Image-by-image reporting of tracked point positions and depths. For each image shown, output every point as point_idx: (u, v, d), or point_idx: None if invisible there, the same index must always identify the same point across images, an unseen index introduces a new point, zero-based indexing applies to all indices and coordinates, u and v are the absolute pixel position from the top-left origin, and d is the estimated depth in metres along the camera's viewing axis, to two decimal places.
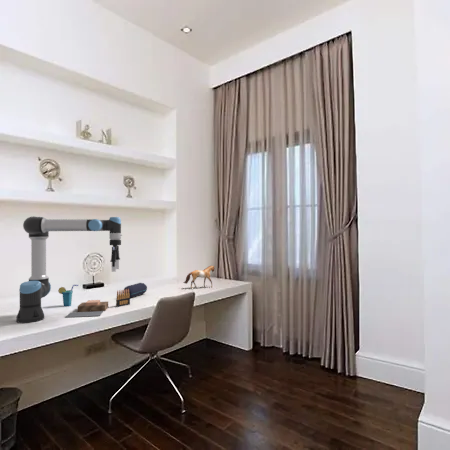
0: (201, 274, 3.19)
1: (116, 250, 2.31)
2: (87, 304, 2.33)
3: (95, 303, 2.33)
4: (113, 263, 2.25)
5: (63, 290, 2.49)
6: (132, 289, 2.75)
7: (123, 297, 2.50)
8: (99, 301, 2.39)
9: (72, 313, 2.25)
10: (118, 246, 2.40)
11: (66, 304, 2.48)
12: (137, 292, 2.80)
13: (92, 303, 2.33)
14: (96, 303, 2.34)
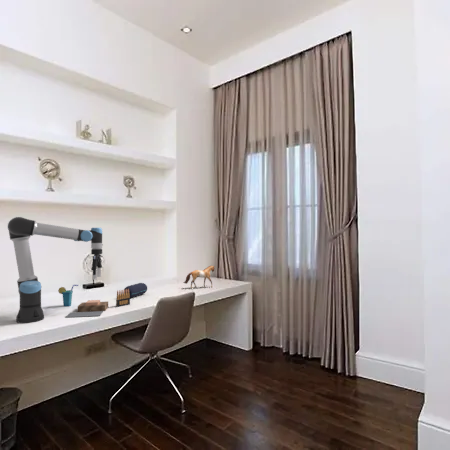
0: (201, 274, 3.19)
1: (97, 259, 2.44)
2: (87, 304, 2.33)
3: (95, 303, 2.33)
4: (94, 271, 2.38)
5: (63, 290, 2.49)
6: (132, 289, 2.75)
7: (123, 297, 2.50)
8: (99, 301, 2.39)
9: (72, 313, 2.25)
10: (100, 255, 2.53)
11: (66, 304, 2.48)
12: (137, 292, 2.80)
13: (92, 303, 2.33)
14: (96, 303, 2.34)
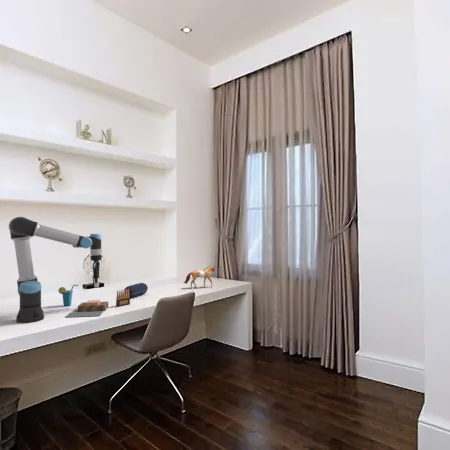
0: (201, 274, 3.19)
1: (97, 265, 2.46)
2: (87, 304, 2.33)
3: (95, 303, 2.33)
4: (95, 280, 2.45)
5: (63, 290, 2.49)
6: (133, 289, 2.75)
7: (123, 297, 2.50)
8: (99, 301, 2.39)
9: (72, 313, 2.25)
10: (99, 263, 2.53)
11: (66, 304, 2.48)
12: (138, 292, 2.80)
13: (92, 303, 2.33)
14: (96, 303, 2.34)
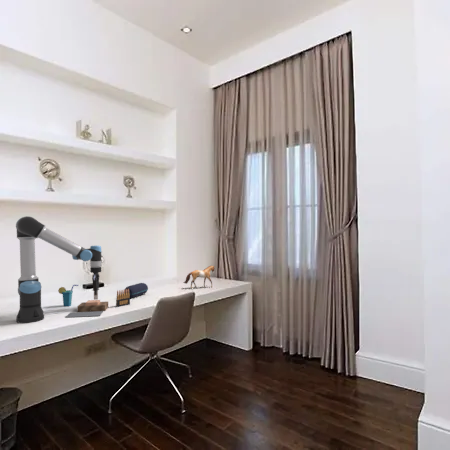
0: (201, 274, 3.19)
1: None
2: (87, 304, 2.33)
3: (95, 303, 2.33)
4: (95, 292, 2.45)
5: (63, 290, 2.49)
6: (133, 289, 2.75)
7: (123, 297, 2.50)
8: (99, 301, 2.39)
9: (72, 313, 2.25)
10: None
11: (66, 304, 2.48)
12: (138, 292, 2.80)
13: (92, 303, 2.33)
14: (96, 303, 2.34)
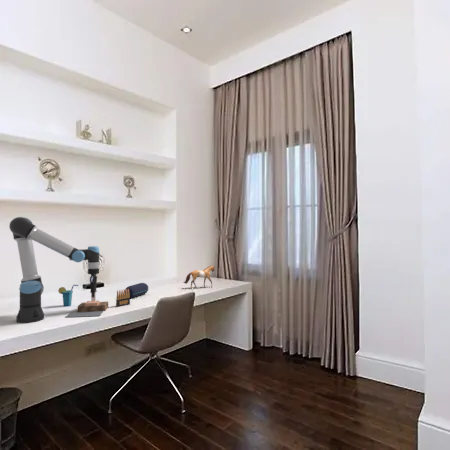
0: (201, 274, 3.19)
1: None
2: (86, 305, 2.30)
3: (94, 304, 2.31)
4: (93, 294, 2.38)
5: (63, 290, 2.49)
6: (134, 289, 2.75)
7: (123, 297, 2.50)
8: (98, 302, 2.37)
9: (72, 313, 2.25)
10: None
11: (66, 304, 2.48)
12: (139, 292, 2.80)
13: (92, 303, 2.31)
14: (95, 304, 2.31)
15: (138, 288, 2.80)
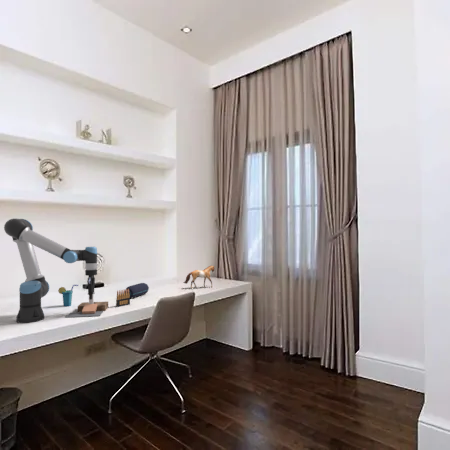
0: (201, 274, 3.19)
1: (92, 281, 2.31)
2: (84, 312, 2.24)
3: (92, 311, 2.25)
4: (90, 296, 2.30)
5: (63, 290, 2.49)
6: (134, 289, 2.75)
7: (123, 297, 2.50)
8: (96, 306, 2.30)
9: (72, 313, 2.25)
10: None
11: (66, 304, 2.48)
12: (139, 292, 2.80)
13: (89, 311, 2.24)
14: (93, 311, 2.25)
15: (138, 288, 2.80)
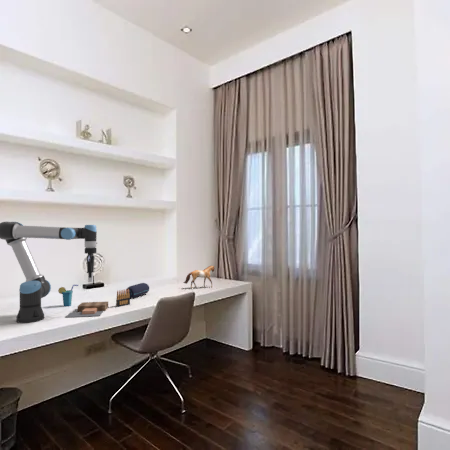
0: (201, 274, 3.19)
1: None
2: (84, 313, 2.23)
3: (92, 311, 2.24)
4: (90, 274, 2.29)
5: (63, 290, 2.49)
6: (135, 289, 2.75)
7: (123, 297, 2.50)
8: (96, 309, 2.30)
9: (72, 313, 2.25)
10: (94, 257, 2.36)
11: (66, 304, 2.48)
12: (140, 292, 2.80)
13: (89, 311, 2.24)
14: (93, 311, 2.24)
15: (139, 288, 2.80)
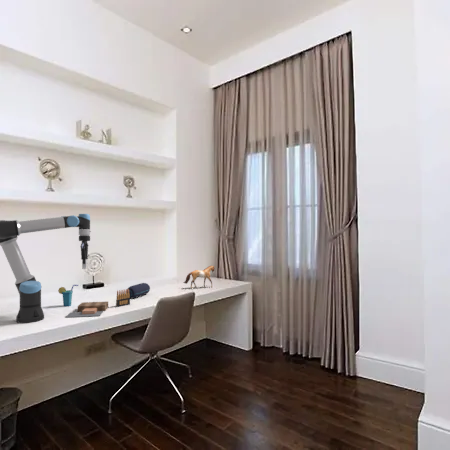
0: (201, 274, 3.19)
1: None
2: (84, 313, 2.23)
3: (92, 311, 2.24)
4: (83, 261, 2.40)
5: (63, 290, 2.49)
6: (135, 289, 2.75)
7: (123, 297, 2.50)
8: (96, 309, 2.30)
9: (72, 313, 2.25)
10: None
11: (66, 304, 2.48)
12: (140, 292, 2.80)
13: (89, 311, 2.24)
14: (93, 311, 2.24)
15: (140, 288, 2.80)
